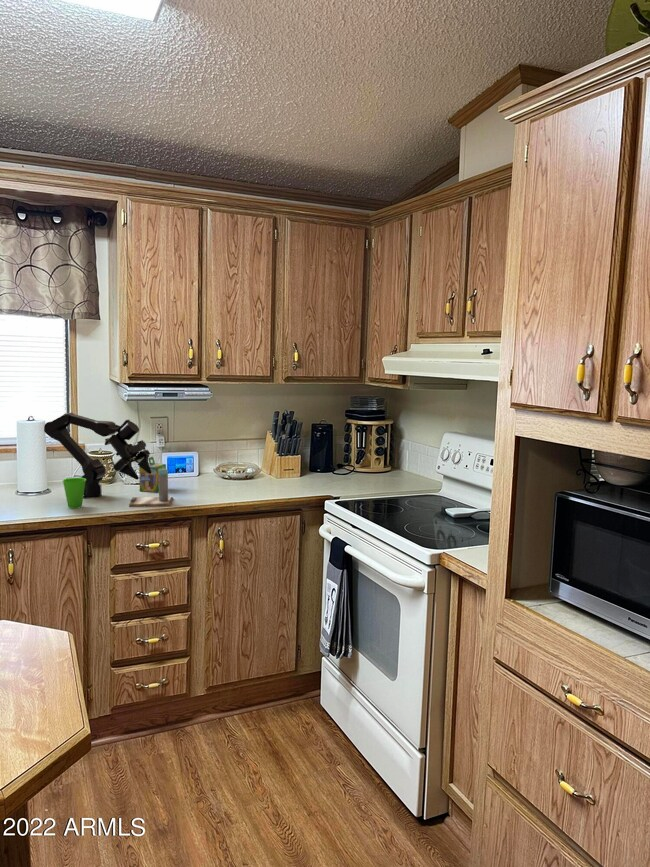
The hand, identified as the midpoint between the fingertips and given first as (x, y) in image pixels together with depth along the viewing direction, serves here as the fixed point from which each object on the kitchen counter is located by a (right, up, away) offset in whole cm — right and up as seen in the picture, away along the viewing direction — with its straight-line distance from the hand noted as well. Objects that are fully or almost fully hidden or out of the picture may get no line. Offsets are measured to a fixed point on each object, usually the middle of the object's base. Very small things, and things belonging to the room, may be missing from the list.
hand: (144, 476), depth 273 cm
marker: (+8, -10, -1) cm, 13 cm away
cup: (-25, -12, -11) cm, 29 cm away
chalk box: (-2, -8, +22) cm, 24 cm away
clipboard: (+3, -11, -1) cm, 11 cm away
